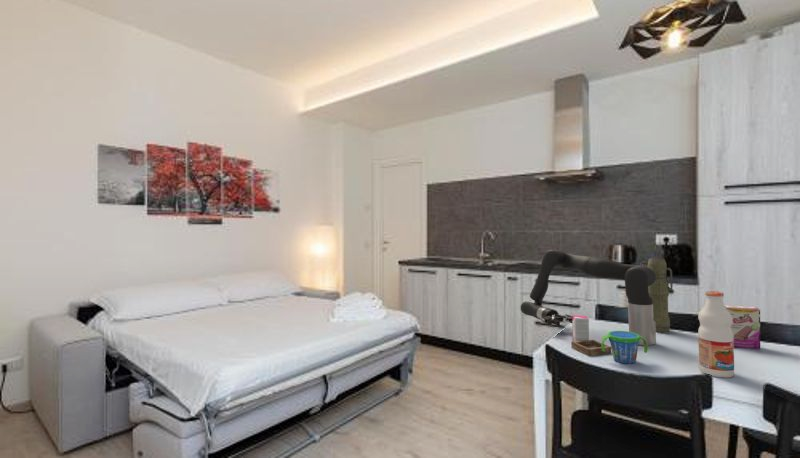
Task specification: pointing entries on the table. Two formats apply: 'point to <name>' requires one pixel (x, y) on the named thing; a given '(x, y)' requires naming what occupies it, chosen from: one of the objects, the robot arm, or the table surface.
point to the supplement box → (580, 328)
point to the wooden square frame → (590, 347)
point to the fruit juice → (716, 337)
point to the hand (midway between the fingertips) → (567, 322)
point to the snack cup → (624, 345)
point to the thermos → (660, 294)
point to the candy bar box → (745, 326)
